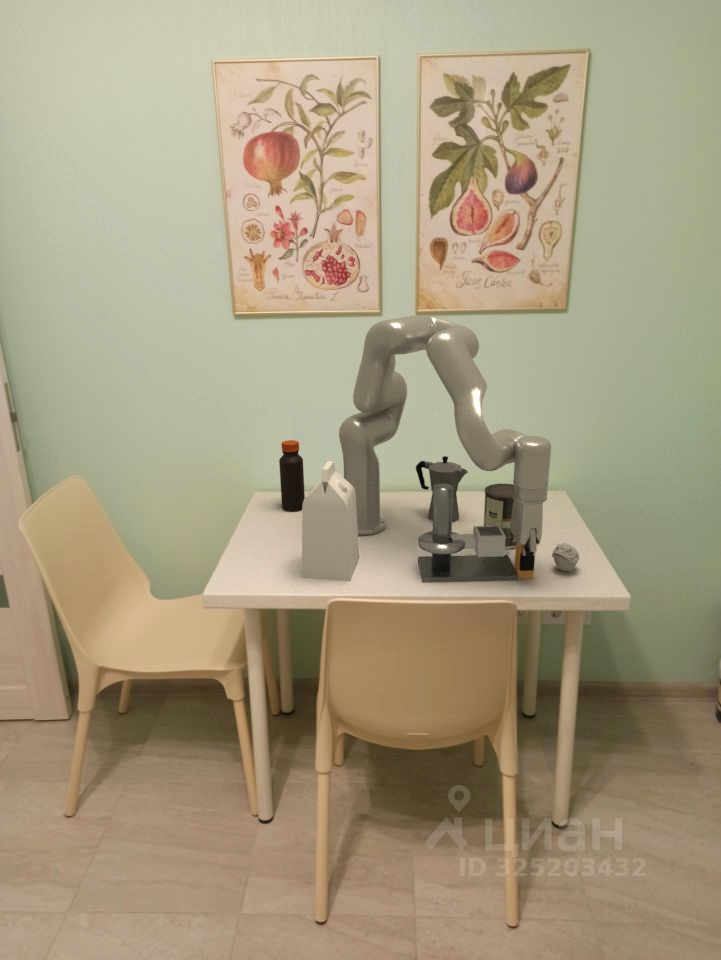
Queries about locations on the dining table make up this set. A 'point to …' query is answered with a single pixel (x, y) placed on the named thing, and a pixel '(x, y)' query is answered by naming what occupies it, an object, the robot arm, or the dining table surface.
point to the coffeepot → (442, 480)
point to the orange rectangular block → (517, 562)
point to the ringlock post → (461, 548)
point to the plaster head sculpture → (565, 557)
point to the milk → (330, 528)
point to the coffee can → (500, 510)
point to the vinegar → (291, 477)
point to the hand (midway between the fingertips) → (524, 565)
